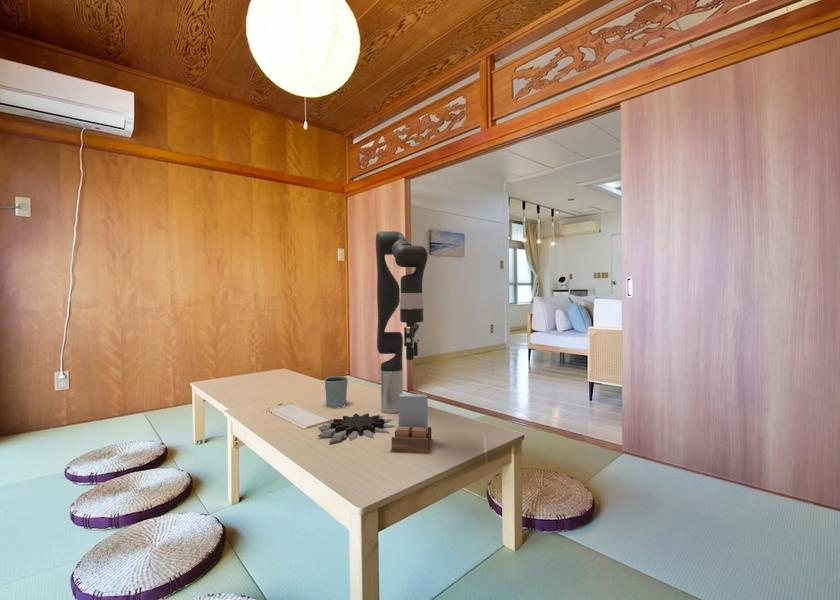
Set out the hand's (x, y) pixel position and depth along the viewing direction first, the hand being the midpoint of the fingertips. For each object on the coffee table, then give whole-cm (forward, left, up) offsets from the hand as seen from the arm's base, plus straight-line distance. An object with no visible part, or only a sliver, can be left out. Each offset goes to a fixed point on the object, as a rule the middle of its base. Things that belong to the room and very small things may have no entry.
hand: (412, 357), depth 123 cm
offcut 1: (+5, -2, -27) cm, 28 cm away
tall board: (0, 0, -27) cm, 27 cm away
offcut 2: (+5, +3, -27) cm, 28 cm away
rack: (+3, 0, -29) cm, 29 cm away
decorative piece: (-12, -22, -29) cm, 38 cm away
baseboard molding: (-24, -52, -29) cm, 64 cm away
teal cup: (-42, -41, -29) cm, 65 cm away
